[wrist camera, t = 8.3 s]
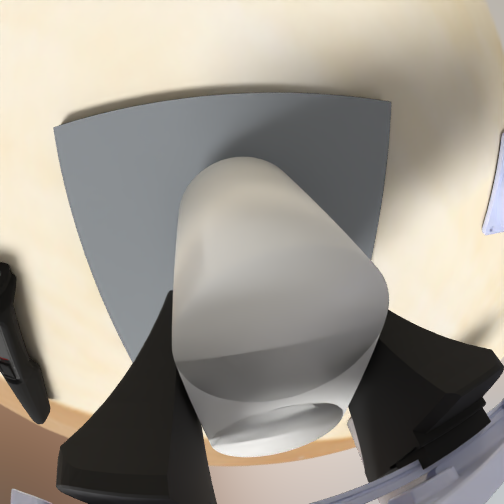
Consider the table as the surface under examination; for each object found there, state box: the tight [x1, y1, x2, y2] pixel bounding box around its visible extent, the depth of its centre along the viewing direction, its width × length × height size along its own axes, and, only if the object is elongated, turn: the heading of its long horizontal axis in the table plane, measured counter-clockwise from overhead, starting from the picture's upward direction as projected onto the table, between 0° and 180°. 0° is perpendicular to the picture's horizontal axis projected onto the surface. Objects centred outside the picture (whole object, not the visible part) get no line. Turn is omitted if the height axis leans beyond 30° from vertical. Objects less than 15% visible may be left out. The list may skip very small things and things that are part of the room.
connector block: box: [172, 157, 389, 457], centre depth 10 cm, size 4×11×6 cm, turn 2°
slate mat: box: [53, 93, 391, 362], centre depth 13 cm, size 14×14×1 cm
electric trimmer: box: [0, 262, 50, 424], centre depth 13 cm, size 4×16×3 cm, turn 163°
